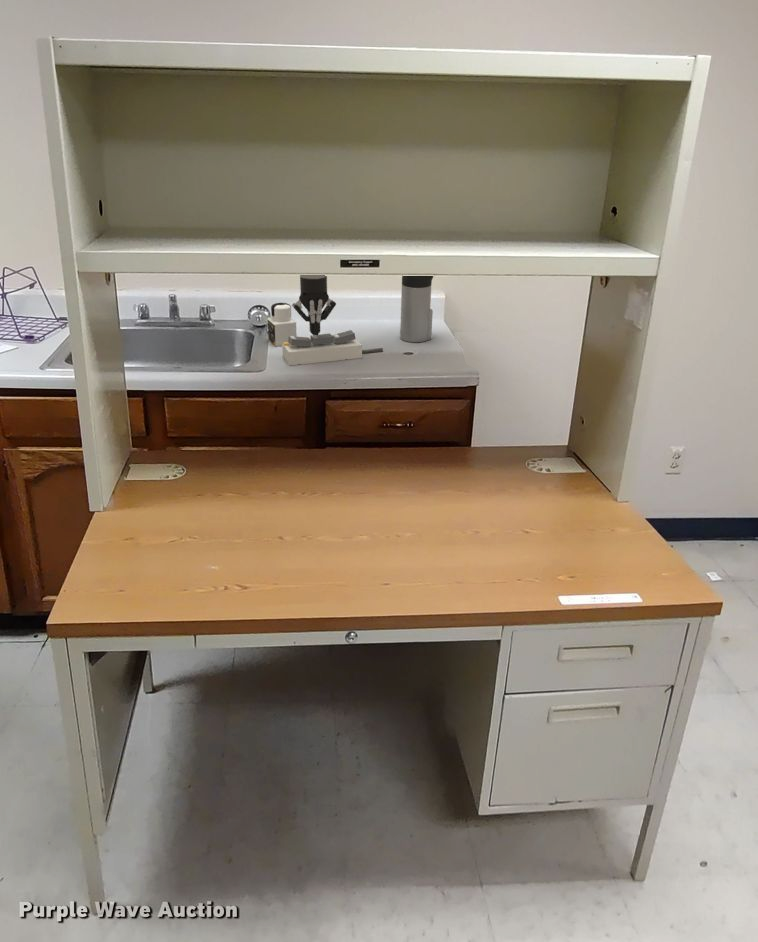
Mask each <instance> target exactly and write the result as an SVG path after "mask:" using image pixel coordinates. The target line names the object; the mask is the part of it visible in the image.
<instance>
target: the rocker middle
mask: <svg viewBox="0 0 758 942" xmlns="http://www.w3.org/2000/svg"><path fill="white" fill-rule="evenodd" d="M332 335H333V334H331V333H323V334H320V333H319V334H318V335H312V334H311V335H310V336H309V339H310V340H311V341H312V344H313V345H319V344H328V343H334V339H333V336H332Z"/></svg>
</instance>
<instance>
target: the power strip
mask: <svg viewBox="0 0 758 942" xmlns="http://www.w3.org/2000/svg"><path fill="white" fill-rule="evenodd" d="M281 348H282V351H281V352H282V359H284V361H285V362H286V363H287V364H288V365H289V366H290V365H291V366H299V365H298V364H301V365H306V364H317V363H318V364H319V363H328V362H336V361H337V362H338V361H345V359H348V360H356V359H362V358H363V354H368V353H369V354H372V353H379V352H384V348H382V347H379V348H371V349H369V348H368V349H363V344H362V343H360V342H359V341H358V340H357V339H354V340H351V341H347V342H344V343H340V344H336V343H335V342H334V343H328V344H319V345H313V344H312V343H311V347H305V346H292V345H290V344H289V343H288V342H283V344H282V347H281Z"/></svg>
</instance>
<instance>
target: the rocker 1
mask: <svg viewBox="0 0 758 942" xmlns="http://www.w3.org/2000/svg"><path fill="white" fill-rule="evenodd" d="M288 343H289V344H290V345H292V346H305V347H311V343H312V341H311V340H310V337H307V336H298V335H297V336H289V337H288Z"/></svg>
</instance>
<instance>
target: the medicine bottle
mask: <svg viewBox="0 0 758 942" xmlns="http://www.w3.org/2000/svg"><path fill="white" fill-rule="evenodd" d="M270 309H271V313H270V314H271V317H268V318H267V333H268V334H267V335H268V336H267V337H268V341H269V342H271V344H273V345H274V347H280V346H282V344H283V342H288V337H289V336H297V337H298V335H297V321H295V319H293V318H292V305H291V304H290V303H287V302H275V303H273V304H271V306H270Z"/></svg>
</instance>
